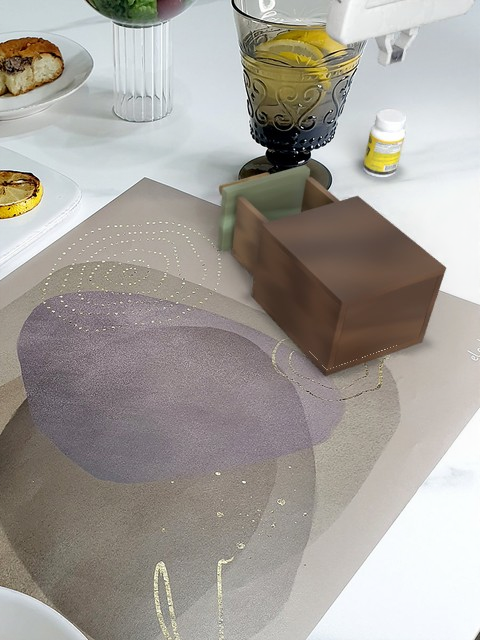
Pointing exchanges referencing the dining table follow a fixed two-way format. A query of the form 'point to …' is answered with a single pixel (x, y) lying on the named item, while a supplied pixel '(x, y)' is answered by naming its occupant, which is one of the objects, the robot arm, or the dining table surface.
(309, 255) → the cabinet
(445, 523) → the dining table surface
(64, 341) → the dining table surface
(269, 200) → the drawer
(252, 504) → the dining table surface
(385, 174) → the supplement bottle
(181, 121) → the dining table surface
